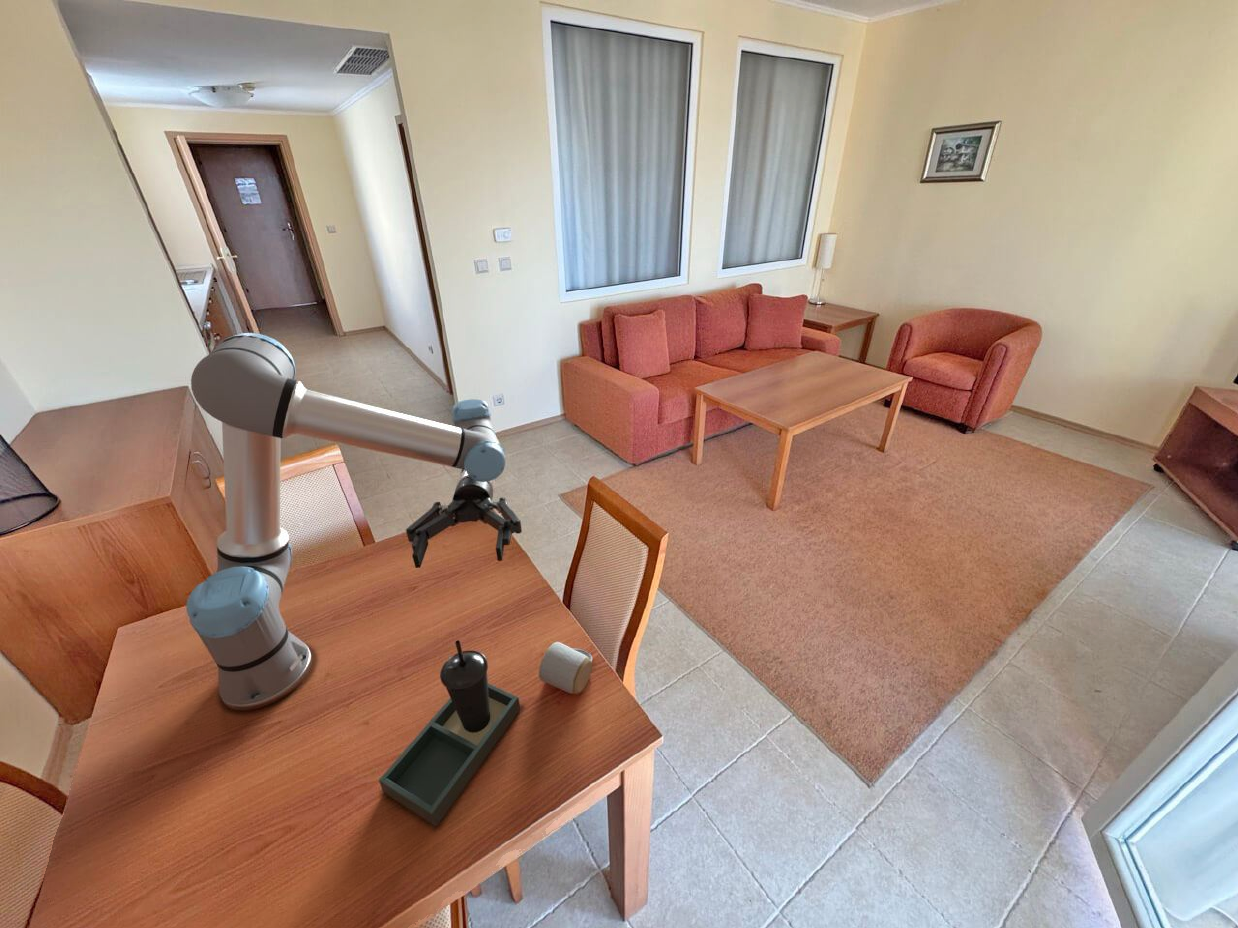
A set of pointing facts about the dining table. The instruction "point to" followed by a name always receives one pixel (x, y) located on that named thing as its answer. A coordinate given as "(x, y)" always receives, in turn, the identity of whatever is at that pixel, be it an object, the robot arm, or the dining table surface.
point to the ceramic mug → (566, 668)
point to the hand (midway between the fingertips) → (457, 558)
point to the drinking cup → (468, 687)
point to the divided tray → (446, 757)
